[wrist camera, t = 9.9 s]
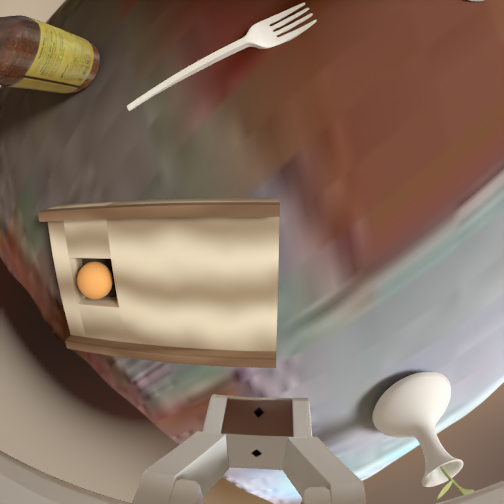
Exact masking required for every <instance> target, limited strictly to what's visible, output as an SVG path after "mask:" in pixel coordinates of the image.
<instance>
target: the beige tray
mask: <svg viewBox="0 0 504 504" xmlns="http://www.w3.org/2000/svg"><path fill="white" fill-rule="evenodd" d="M38 216H39V222H45V221H48V227H49V234H50V241H51V247H52V253H53V259H54V265H55V270H56V275H57V280H58V285H59V289H60V294H61V298H62V303H63V307H64V311H65V315H66V319H67V323H68V326H69V330H70V333H71V335H70V336H69V337H68V338H67V339H66V340H65V343H66V347H67V348H68V349H74V350H79V351H85V352H91V353H98V354H104V355H111V356H118V357H126V358H134V359H142V360H151V361H160V362H171V363H182V364H195V365H210V366H229V367H258V368H276V336H277V302H278V258H279V217H280V204H279V198H202V199H163V200H137V201H116V202H98V203H83V204H68V205H58V206H55V207H52V208H49V209H46V210H43V211H40V212H38ZM82 258H103V259H111V261H112V268H113V275H114V282H115V288H116V294H117V297H108V296H105V297H103V298H101V299H90V298H88V297H86V296H84V295H83V294H82V293H81V291H80V290H79V287H78V284H77V276H78V273H79V271H80V269H81V268H82V267H83V264H82Z"/></svg>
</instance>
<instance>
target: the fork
mask: <svg viewBox="0 0 504 504" xmlns="http://www.w3.org/2000/svg"><path fill="white" fill-rule="evenodd" d="M303 5H305V3H302V4H299V5H297V6H295V7H292V8H290V9H288V10H286V11H283V12H281V13H279V14H277V15H274V16H272V17H270V18H267V19H265V20H263V21H261V22H258V23H256V24H255V25H253V26H252V27H251V28H250V29H249V30H248V32H247V34H246V35H245V36H244V37H243V38H241V39H239V40H237V41H235V42H233V43H231V44H229V45H227V46H225V47H223V48H221V49H219V50H218V51H216V52H214V53H212V54H210V55H208V56H206V57H204V58H203V59H201V60H199V61H197V62H195V63H194V64H192V65H190V66H188V67H187V68H185V69H183V70H182V71H180V72H178V73H177V74H175V75H173V76H172V77H170V78H168V79H167V80H165V81H164V82H162V83H160V84H159V85H157V86H156V87H154V88H153V89H151V90H149V91H148V92H146V93H145V94H143V95H142V96H140V97H139V98H138V99H136V100H135V101H133V102H132V103H130V104H129V105H127V108H128V110H129V111H130V110H132V109H133V108H135V107H137V106H138V105H140V104H141V103H143V102H145V101H146V100H148V99H149V98H151V97H153V96H154V95H156V94H158V93H159V92H161V91H163V90H165V89H166V88H168V87H170V86H172V85H174V84H175V83H177V82H179V81H181V80H183V79H185V78H186V77H188V76H190V75H192V74H194V73H196V72H198V71H200V70H202V69H204V68H206V67H208V66H210V65H212V64H214V63H216V62H218V61H220V60H222V59H224V58H226V57H228V56H230V55H232V54H234V53H236V52H238V51H240V50H242V49H245V48H247V47H256V48H259V49H266V48H271V47H274V46H276V45H279V44H281V43H284V42H286V41H289V40H291V39H293V38H295V37H296V36H298V35H299V34H301V33H302V32H304V31H305V30H306V29H308V28H309V27H310V26H312V25H313V24H314V23H315V22H316V21H317V20H314V21H312V22H310V23H308V24H306V25H304V26H302V27H300V28H298V29H296V30H294V31H292V32H290V33H287V34H285V35H283V36H281V37H276V36H277V35H279V34H281V33H284V32H286V31H288V30H290V29H291V28H293V27H295V26H296V25H298V24H300V23H301V22H303V21H305V20H306V19H308V18H309V17H311V16H312V15H313V14H312V13H311V14H309V15H307V16H305V17H303V18H301V19H299V20H297V21H296V22H294V23H292V24H290V25H288V26H286V27H284V28H282V29H280V30H278V31H276V32H273V30H274V29H276V28H279V27H281V26H283V25H285V24H287V23H288V22H290V21H292V20H293V19H295V18H297V17H298V16H300V15H301V14H303V13H305V12H306V11H308V10H309V8H306V9H304V10H302V11H300V12H298V13H296V14H294V15H293V16H291V17H289V18H287V19H285V20H283V21H281V22H279V23H277V24H275V25H273V26H270V24H272V23H274V22H276V21H279V20H280V19H282V18H284V17H286V16H287V15H289V14H291V13H292V12H294V11H296V10H297V9H299V8H300V7H302V6H303Z"/></svg>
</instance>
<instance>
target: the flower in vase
mask: <svg viewBox="0 0 504 504" xmlns="http://www.w3.org/2000/svg"><path fill="white" fill-rule="evenodd" d="M450 397H451V387H450V383H449V380H448V379H447V378H446V377H445V376H444V375H442V374H440V373H436V372H419V373H415V374H412V375H409V376H407V377H405V378H403V379H401V380H399V381H398V382H396V383H395V384H393V385H392V386H391V387H389V388H388V389H387V390H386V391H385V392H384V393H383V395H382V396H381V397H380V398H379V400H378V402H377V404H376V406H375V408H374V411H373V415H372V419H373V423H374V425H375V427H376V428H377V429H378V430H379V431H380V432H382V433H383V434H385V435H388V436H393V437H415V438H417V440H418V441H419V443H420V445H421V447H422V450H423V453H424V457H425V464H426V470H425V475H424V477H423V480H422V485H423V486H425V487H432V486H436V485H439V484H442V483H444V482H446V481H447V480H450V482H449V483H448V484H447V485H446V486H445V487H444V488H443V489H442V490H441V492H440V493H439V495H438V496H437V498H436V499H435V501H436V500H437V499H438V498H440V497H441V496H442V495H443V494H444V493H445V492H446V491H447V490H448V489H449V487H450V486H451V484H452V483H453V484H454V486H455V487H457V489H458V490H459V491H460V492H461V494H462V496H463V495H465V494H469V493H472V492H474V489H469V490H467V489H464V488H461V487H460V486H459V485H458V484H457V483H456V482H455V481H454V480H453V479H452V477H453V476H455V475H456V474H457V473H458V472H459V471H460V470H461V468H462V467H463V461H462V460H459V459H456V458H453V457H452V456H451V455H449V454H448V453H447V452H446V451H445V449H444V448H443V446H442V445H441V443H440V441H439V439H438V437H437V435H436V432H435V424H436V423H437V421H438V420H439V419H440V418H441V416H442V415H443V413H444V412H445V410H446V408H447V406H448V404H449V401H450Z"/></svg>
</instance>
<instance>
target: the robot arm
mask: <svg viewBox="0 0 504 504" xmlns="http://www.w3.org/2000/svg"><path fill="white" fill-rule="evenodd" d="M470 1H483V0H470ZM229 467H233V468H257V469H274V470H283V471H284V473H285V474H286V476H287V477H288V478H289V480H290V481H291V483H292V484H293V486H294V487H295V488H296V490H297V491H298V493H299V494H300V495H301V497H302V501H301V504H367V502H366V497H365V490H364V485H363V482H362V481H361V480H360V479H359V478H358V477H357V476H356V475H355V474H354V473H353V472H352V471H351V470H350V469H349V468H348V467H346V466H345V465H344V464H343V463H342V462H341V461H340V460H339V459H338V458H337V457H336V456H335V455H334V454H333V453H332V452H331V451H330V450H329V449H328V448H327V447H326V446H325V445H324V444H323V443H322V442H321V441H320V440H319V438H318V437H312V429H311V417H310V406H309V400H308V398H292V399H291V398H252V397H239V396H224V395H215V394H213V395H212V396H211V398H210V402H209V406H208V410H207V414H206V418H205V422H204V426H203V430H202V432H198V431H197V432H196V433H195V434H193V435H192V436H191V437H189V438H188V439H187V440H186V441H184V442H183V443H182V444H180V445H179V446H178V447H176V448H175V449H174V450H172V451H171V452H170V453H168V454H167V455H165V456H164V457H163V458H161V459H160V460H159V461H157V462H156V463H154V464H153V465H152V466H150V467H149V468H147V469H146V470H144V473H143V475H142V478H141V481H140V484H139V486H138V489H137V492H136V495H135V497H134V500H133V503H128V502H124V501H121V500H117V499H114V498H110V497H107V496H104V495H101V494H98V493H95V492H92V491H89V490H86V489H84V488H81V487H78V486H75V485H73V484H70V483H68V482H65V481H63V480H60V479H58V478H55V477H53V476H51V475H48V474H46V473H44V472H42V471H39V470H37V469H35V468H33V467H31V466H29V465H27V464H25V463H23V462H21V461H19V460H17V459H15V458H13V457H11V456H9V455H7V454H6V453H4V452H2V451H0V504H205V503H204V499H203V495H204V494H205V493H206V492H207V491H208V490H209V489H210V488H211V487H212V486H213V485H214V484H215V483H216V482H217V481H218V480H219V479H220V478H221V477H222V476H223V475H224V474H225V473H226V471H227V470H228V469H229ZM437 504H504V480H503V481H501V482H498V483H496V484H493V485H491V486H488V487H486V488H483V489H480V490H478V491H475V492H472V493H469V494H466V495H463V496H460V497H457V498H454V499H450V500H447V501H444V502H440V503H437Z"/></svg>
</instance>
